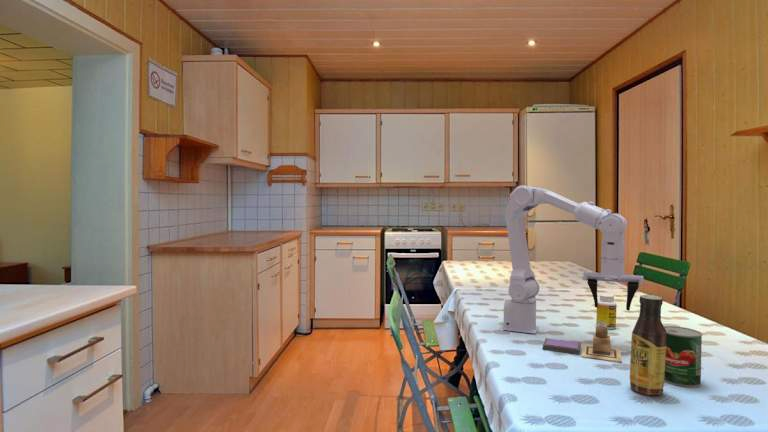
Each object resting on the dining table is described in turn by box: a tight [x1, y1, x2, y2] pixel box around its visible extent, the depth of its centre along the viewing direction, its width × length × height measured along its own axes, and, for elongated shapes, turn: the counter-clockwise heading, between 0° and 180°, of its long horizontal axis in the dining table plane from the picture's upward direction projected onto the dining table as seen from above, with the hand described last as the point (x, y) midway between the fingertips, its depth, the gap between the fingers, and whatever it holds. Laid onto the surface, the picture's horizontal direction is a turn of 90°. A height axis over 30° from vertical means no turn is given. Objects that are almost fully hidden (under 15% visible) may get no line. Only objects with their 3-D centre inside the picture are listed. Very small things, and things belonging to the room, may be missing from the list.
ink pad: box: [542, 337, 582, 356], centre depth 122 cm, size 9×7×1 cm
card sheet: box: [581, 343, 623, 364], centre depth 118 cm, size 9×11×1 cm
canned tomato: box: [663, 325, 703, 388], centre depth 100 cm, size 8×8×11 cm
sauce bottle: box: [629, 294, 666, 396], centre depth 94 cm, size 6×6×20 cm
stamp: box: [592, 325, 611, 355], centre depth 118 cm, size 4×4×6 cm
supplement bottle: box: [596, 293, 617, 330], centre depth 142 cm, size 6×6×10 cm
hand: (611, 308), depth 123 cm, fingers open, 7 cm apart
